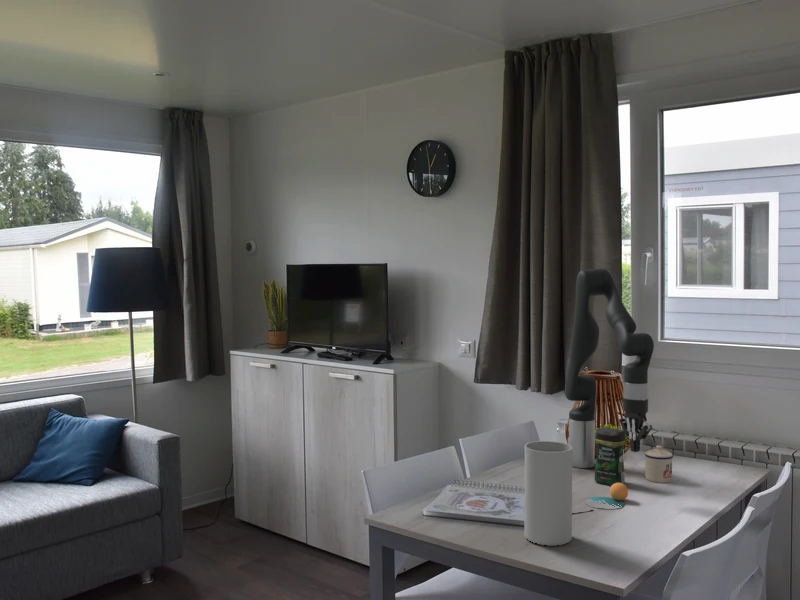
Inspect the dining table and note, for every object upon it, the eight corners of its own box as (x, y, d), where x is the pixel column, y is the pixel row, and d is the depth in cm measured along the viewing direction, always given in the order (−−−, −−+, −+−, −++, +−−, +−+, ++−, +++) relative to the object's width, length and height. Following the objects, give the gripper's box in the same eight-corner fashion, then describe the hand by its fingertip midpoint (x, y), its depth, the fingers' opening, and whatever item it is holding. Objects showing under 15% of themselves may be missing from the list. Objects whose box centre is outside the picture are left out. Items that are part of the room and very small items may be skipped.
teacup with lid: (668, 484, 248) (668, 450, 247) (641, 480, 253) (641, 446, 252) (677, 476, 257) (678, 443, 257) (651, 472, 263) (651, 440, 262)
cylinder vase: (541, 550, 191) (542, 454, 190) (515, 534, 202) (515, 443, 201) (581, 542, 196) (581, 449, 195) (553, 527, 207) (554, 439, 206)
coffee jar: (591, 482, 250) (591, 428, 250) (601, 477, 257) (601, 424, 256) (618, 488, 244) (618, 432, 243) (628, 482, 250) (628, 428, 250)
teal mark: (576, 500, 232) (576, 499, 232) (606, 495, 236) (606, 494, 236) (600, 511, 221) (600, 510, 221) (632, 506, 225) (632, 505, 225)
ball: (623, 489, 235) (615, 503, 233) (611, 478, 234) (603, 493, 232) (634, 490, 230) (626, 505, 228) (622, 479, 229) (614, 494, 227)
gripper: (612, 394, 236) (611, 447, 237) (640, 401, 224) (640, 457, 225) (630, 392, 239) (630, 445, 240) (660, 399, 227) (659, 455, 228)
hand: (635, 451), depth 233 cm, fingers closed
